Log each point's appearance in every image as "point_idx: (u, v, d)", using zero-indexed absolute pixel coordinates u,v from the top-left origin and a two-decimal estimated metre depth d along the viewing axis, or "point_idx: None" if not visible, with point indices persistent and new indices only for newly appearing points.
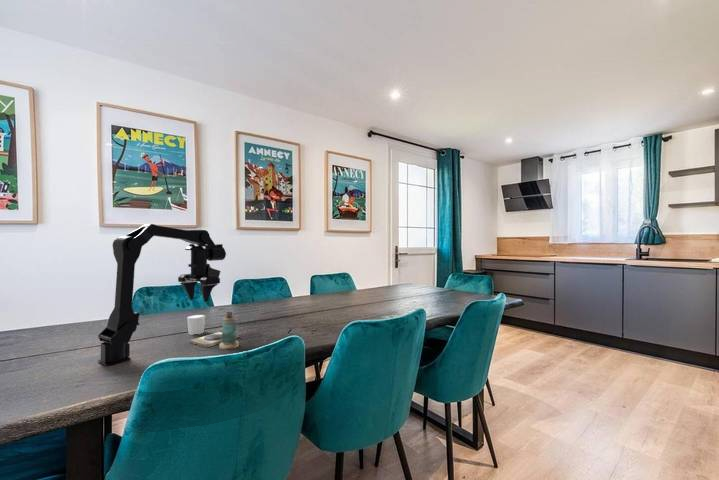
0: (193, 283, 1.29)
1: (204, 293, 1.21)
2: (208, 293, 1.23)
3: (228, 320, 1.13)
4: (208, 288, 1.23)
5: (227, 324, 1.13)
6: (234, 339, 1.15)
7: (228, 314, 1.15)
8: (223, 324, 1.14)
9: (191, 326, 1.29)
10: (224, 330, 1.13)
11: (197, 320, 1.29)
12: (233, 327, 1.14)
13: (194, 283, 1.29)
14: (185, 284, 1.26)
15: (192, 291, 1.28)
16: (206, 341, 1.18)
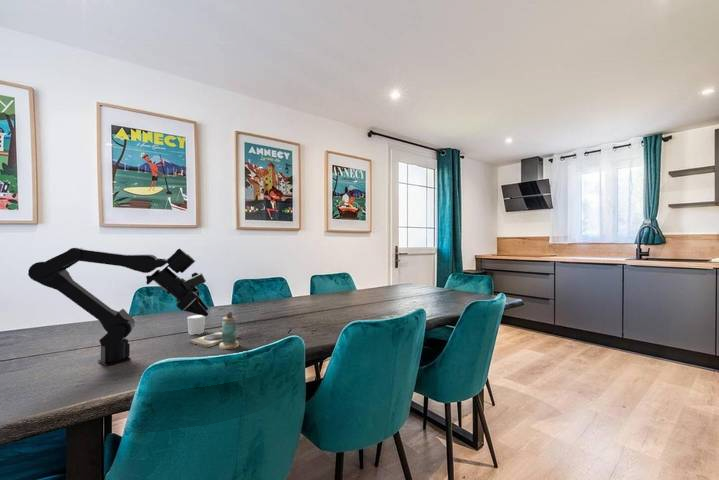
0: None
1: (195, 312, 1.05)
2: (200, 309, 1.06)
3: (228, 320, 1.13)
4: (195, 305, 1.05)
5: (227, 324, 1.13)
6: (234, 339, 1.15)
7: (228, 314, 1.15)
8: (223, 324, 1.14)
9: (191, 326, 1.29)
10: (224, 330, 1.13)
11: (197, 320, 1.29)
12: (233, 327, 1.14)
13: (196, 295, 1.15)
14: None
15: (200, 303, 1.16)
16: (206, 341, 1.18)
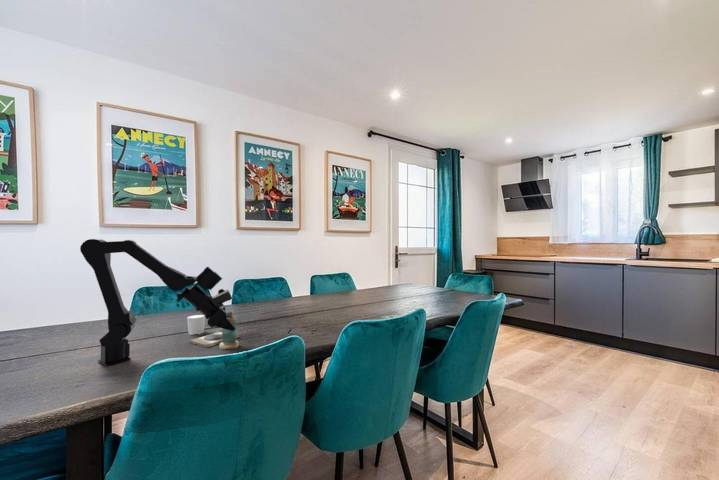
0: None
1: (223, 327, 1.11)
2: (227, 324, 1.12)
3: None
4: (223, 320, 1.11)
5: None
6: (234, 339, 1.15)
7: (228, 314, 1.15)
8: None
9: (191, 326, 1.29)
10: (224, 330, 1.13)
11: (197, 320, 1.29)
12: None
13: None
14: None
15: None
16: (206, 341, 1.18)
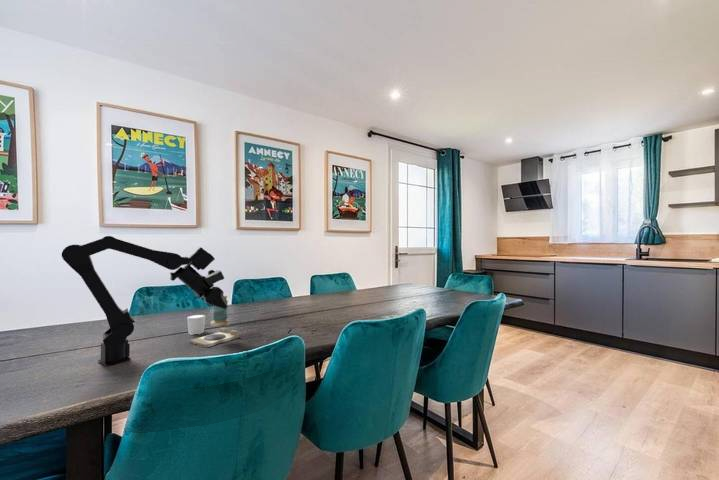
0: None
1: (217, 305, 1.16)
2: (221, 302, 1.17)
3: None
4: (217, 298, 1.16)
5: None
6: (226, 317, 1.20)
7: None
8: None
9: (191, 326, 1.29)
10: (217, 308, 1.18)
11: (197, 320, 1.29)
12: None
13: None
14: None
15: None
16: (206, 341, 1.18)
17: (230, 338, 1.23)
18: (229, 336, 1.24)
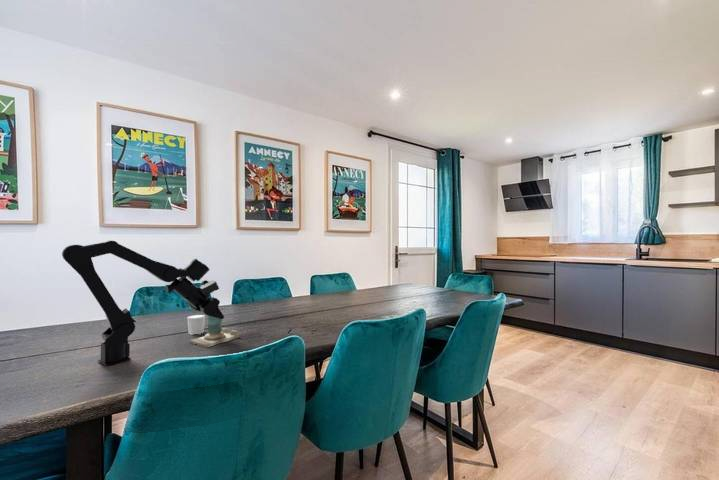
0: None
1: (214, 316, 1.17)
2: (218, 313, 1.18)
3: None
4: (214, 309, 1.17)
5: None
6: (220, 329, 1.23)
7: None
8: (210, 316, 1.20)
9: (191, 326, 1.29)
10: (211, 321, 1.20)
11: (197, 320, 1.29)
12: None
13: None
14: (197, 309, 1.23)
15: None
16: (206, 341, 1.18)
17: (230, 338, 1.23)
18: (229, 336, 1.24)
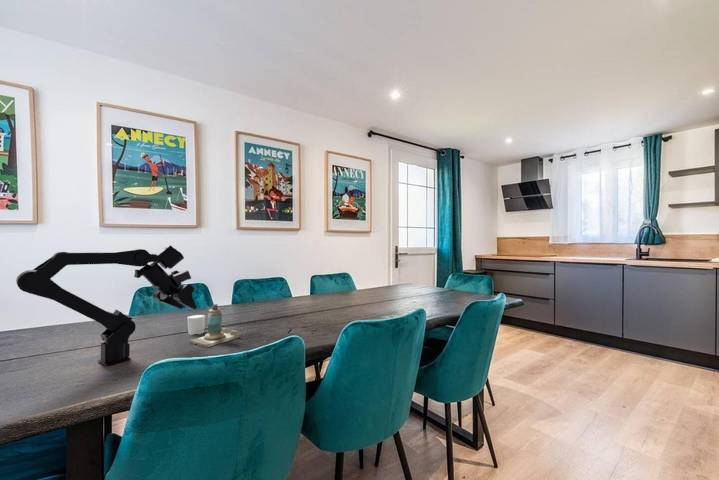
0: (172, 294, 1.18)
1: (187, 304, 1.12)
2: (191, 301, 1.13)
3: (215, 312, 1.21)
4: (188, 297, 1.12)
5: (215, 315, 1.21)
6: (220, 329, 1.23)
7: (214, 306, 1.22)
8: (210, 316, 1.20)
9: (191, 326, 1.29)
10: (211, 321, 1.20)
11: (197, 320, 1.29)
12: (220, 318, 1.22)
13: None
14: (165, 301, 1.16)
15: (177, 301, 1.19)
16: (206, 341, 1.18)
17: (230, 338, 1.23)
18: (229, 336, 1.24)
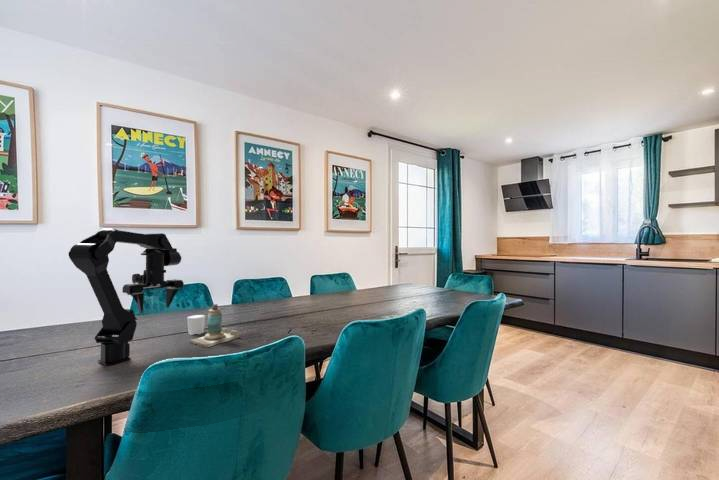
0: None
1: None
2: None
3: (215, 312, 1.21)
4: None
5: (215, 315, 1.21)
6: (220, 329, 1.23)
7: (214, 306, 1.22)
8: (210, 316, 1.20)
9: (191, 326, 1.29)
10: (211, 321, 1.20)
11: (197, 320, 1.29)
12: (219, 318, 1.22)
13: None
14: None
15: None
16: (206, 341, 1.18)
17: (230, 338, 1.23)
18: (229, 336, 1.24)
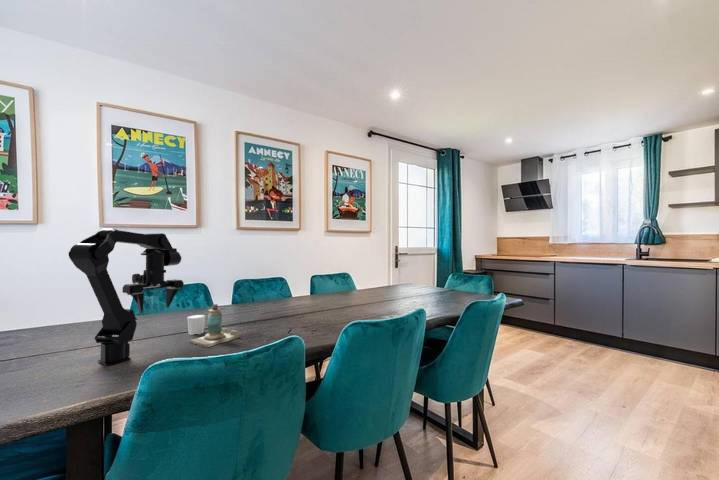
0: None
1: None
2: None
3: (215, 312, 1.21)
4: None
5: (215, 315, 1.21)
6: (220, 329, 1.23)
7: (214, 306, 1.22)
8: (210, 316, 1.20)
9: (191, 326, 1.29)
10: (211, 321, 1.20)
11: (197, 320, 1.29)
12: (220, 318, 1.22)
13: None
14: None
15: None
16: (206, 341, 1.18)
17: (230, 338, 1.23)
18: (229, 336, 1.24)
